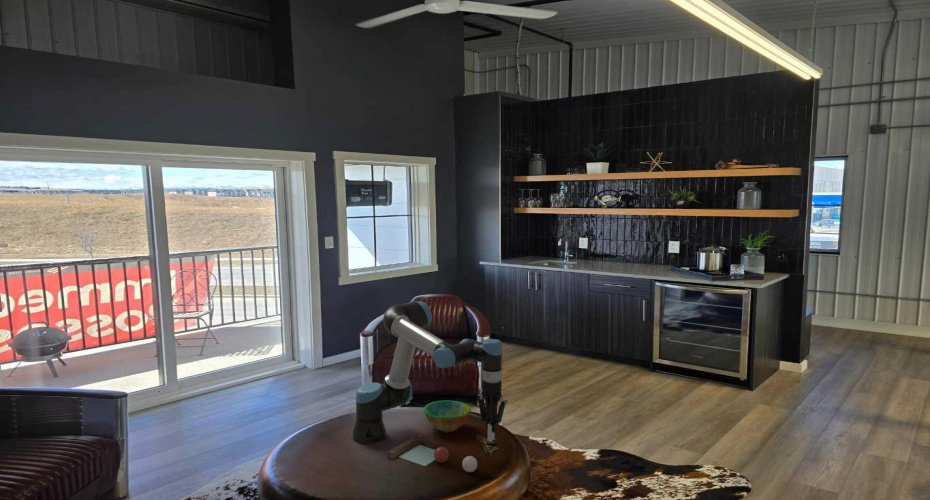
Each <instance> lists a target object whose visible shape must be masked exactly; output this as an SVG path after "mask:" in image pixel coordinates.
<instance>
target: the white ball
mask: <svg viewBox="0 0 930 500" xmlns="http://www.w3.org/2000/svg"><path fill="white" fill-rule="evenodd" d="M461 465H462V468H463V470H464V471H466V472H467V473H473V472H475V471H476V469H477V467H478V460H477V459H476V458H475V457H474V456H472V455H468V456H466V457H464V458H463V460H462V463H461Z"/></svg>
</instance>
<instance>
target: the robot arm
mask: <svg viewBox="0 0 930 500" xmlns="http://www.w3.org/2000/svg"><path fill="white" fill-rule="evenodd" d="M432 314H433V313H432V311H431V309H430V307H429V305H428V304H427V303H426V302H424V301H413V302H408V303H399V304H394V305H391V306H389V308H388V309H386V311H385V312H384V314H383V320H382V321H383V326H384V328H385V330H386V331H387V332H388V333H389V334H390V335H392V336H393V337H396V338H397V343H396V347H395V351H394V355H393V359H392V363H391V367H390V371H389V374H387V375H385V377H384V381H383V384H382V383H379V382H368V383H364V384H362V385H361V386H359V387H358V388H357V390H356V393H355V394H356V395H355V405H356V406H355V408H356V409H355V410H356V411H355V413H356V416H355V417H356V418H355V419H356V420H355V423H354V428H353V431H352V440H353V441H355V442H357V443H360V444H376V443H379V442H381V441H383V440H385V439H386V437H387V428H386V427H385V423H384V420H383V412H385V411H387V410H391V409H395V408H397V407H402V406H404V405H406V404H408V403H409V402H410V400H412V396H413V389H412V388H413V385H412V384H411V381H410V379H409V374H410V371H411V366H412V363H413V359H414V355H415V351H416V348H418V349H419V350H421V351H423V352H424V353H426V354H427V355H429V356H430V357H432V361H433V362H434V364H435V366H436V367H438V368H440V369H444V368H445V369H446V368H450V367H453V366H457V365H460V364H464V363H468V362H472V361H474V362H477V363H481V366H482V367H481V368H482V369H481V372H482V373H481V374H482V375H481V379H482V381H481V392H480V393H479V394H477V395H476V396H475V397H476V400H477V401H478V407H479V412H480V413H479V414H480V417H481V421H482V422H483V421H484V422H485V430H486V431H487V439H488V441H492V440H494V439H496V438H495V436H496V434H495V433H496V432H497V425H498V424H500V423H502V419H503V415H504V412H505V411H504V410H505V408H506V405H507V404H508V400H507V399H504V397H503V395H502V390H503V389H502V384H503V382H502V378H503V367H502V366H503V365H502V363H503V343H502V341H501V340H500V339H496V338H495V339H493V338H486V339H484V340H483V341H479V340H475V339H472V338H464V339H462V340H461V341H460V342H459V343H457V344H450V343H449V342H446V341H444V340H443V339H442V338H439V337H438V336H436V335H435V334H433V333H431V332H430V331H428V330H426V329H425V328H427V327H429V326H431V323H432V321H433V315H432ZM494 441H495V440H494Z"/></svg>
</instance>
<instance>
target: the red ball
mask: <svg viewBox="0 0 930 500" xmlns="http://www.w3.org/2000/svg"><path fill="white" fill-rule="evenodd" d="M434 450H435V452H434V458H435V460H434V461H436V462H438V463H442V464H443V463H445V462H446V461H448V459H449V451H448V449H447V448H446V447H444V446H440V447H437V448H436V449H434Z"/></svg>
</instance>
